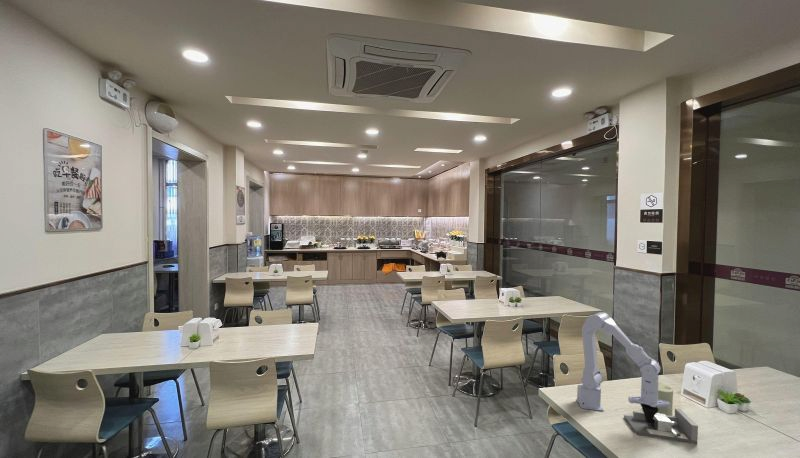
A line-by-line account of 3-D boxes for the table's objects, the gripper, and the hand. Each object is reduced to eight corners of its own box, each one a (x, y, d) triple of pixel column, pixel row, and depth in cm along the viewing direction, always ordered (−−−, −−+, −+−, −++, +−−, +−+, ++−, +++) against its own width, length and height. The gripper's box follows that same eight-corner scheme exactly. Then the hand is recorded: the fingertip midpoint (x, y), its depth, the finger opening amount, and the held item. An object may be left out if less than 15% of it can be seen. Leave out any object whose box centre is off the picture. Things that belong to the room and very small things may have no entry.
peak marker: (676, 436, 132) (677, 433, 132) (672, 431, 135) (672, 428, 135) (680, 436, 132) (680, 434, 132) (675, 431, 135) (676, 429, 135)
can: (677, 418, 147) (678, 392, 147) (653, 416, 149) (654, 389, 149) (665, 407, 156) (666, 382, 156) (643, 404, 158) (644, 379, 158)
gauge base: (636, 434, 136) (636, 417, 136) (624, 417, 148) (624, 401, 147) (697, 444, 131) (698, 425, 131) (679, 425, 142) (680, 409, 142)
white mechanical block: (659, 435, 133) (659, 425, 133) (647, 421, 143) (648, 411, 143) (685, 438, 131) (686, 428, 131) (672, 424, 140) (672, 415, 140)
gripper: (633, 392, 137) (632, 424, 138) (675, 397, 134) (673, 430, 134) (626, 384, 144) (625, 414, 145) (665, 388, 141) (664, 420, 141)
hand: (648, 421), depth 140 cm, fingers closed
